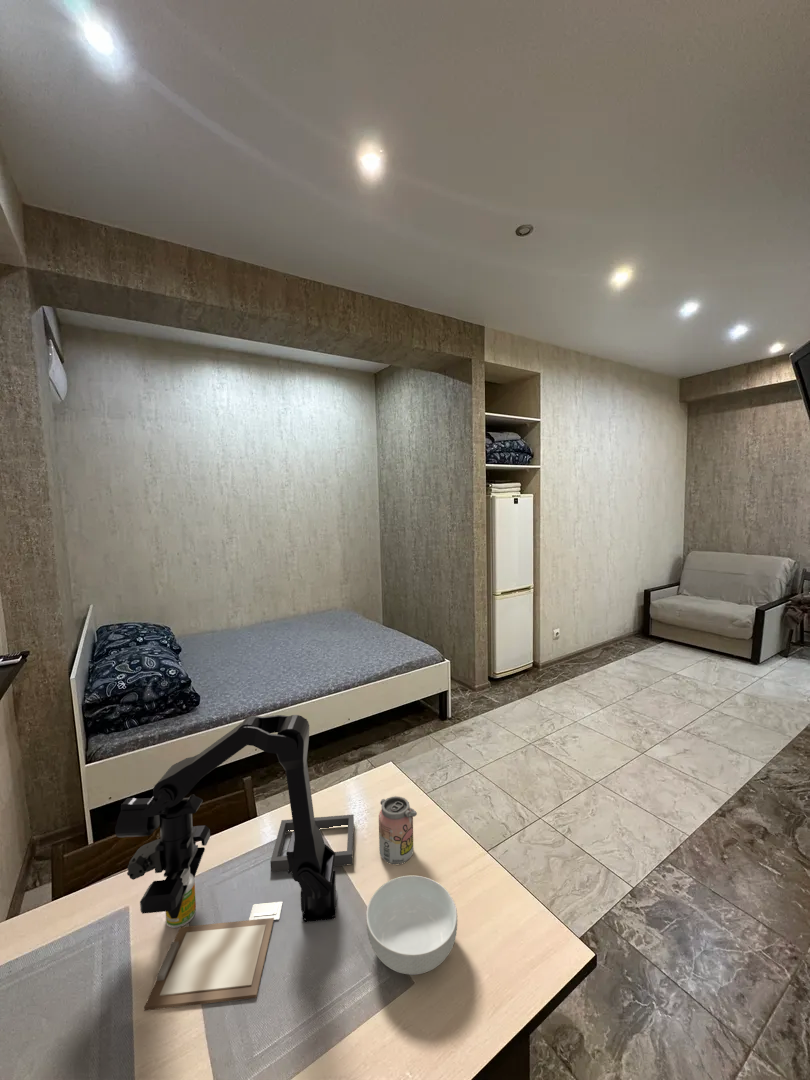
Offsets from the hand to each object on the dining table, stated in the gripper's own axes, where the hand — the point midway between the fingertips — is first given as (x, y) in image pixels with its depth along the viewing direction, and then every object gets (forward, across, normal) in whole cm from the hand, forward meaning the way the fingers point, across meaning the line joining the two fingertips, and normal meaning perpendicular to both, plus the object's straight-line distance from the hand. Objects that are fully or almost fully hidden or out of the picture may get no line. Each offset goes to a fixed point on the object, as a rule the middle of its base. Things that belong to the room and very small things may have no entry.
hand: (180, 904), depth 89 cm
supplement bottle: (+3, 0, 0) cm, 3 cm away
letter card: (+2, +1, +17) cm, 17 cm away
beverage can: (+3, -12, +45) cm, 47 cm away
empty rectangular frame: (+2, -16, +25) cm, 30 cm away
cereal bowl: (+3, +11, +46) cm, 47 cm away
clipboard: (+2, +10, +10) cm, 14 cm away
